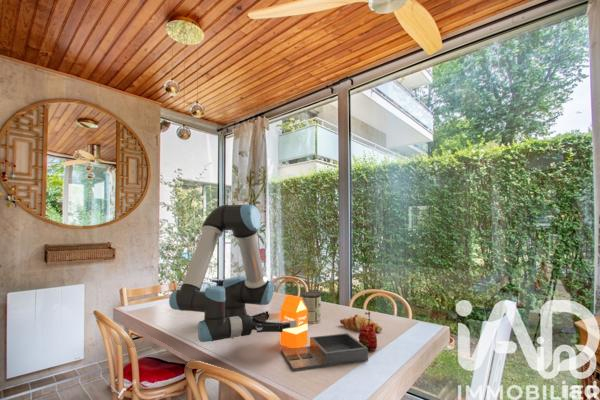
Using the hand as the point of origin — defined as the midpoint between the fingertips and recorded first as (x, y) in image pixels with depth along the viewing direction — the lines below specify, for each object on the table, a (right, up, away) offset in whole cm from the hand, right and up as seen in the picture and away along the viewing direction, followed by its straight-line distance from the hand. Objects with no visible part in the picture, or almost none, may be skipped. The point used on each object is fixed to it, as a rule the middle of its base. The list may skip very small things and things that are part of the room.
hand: (289, 318), depth 129 cm
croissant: (+34, -13, +20) cm, 42 cm away
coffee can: (+11, -14, +34) cm, 38 cm away
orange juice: (+2, -11, +1) cm, 11 cm away
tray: (+13, -10, -11) cm, 20 cm away
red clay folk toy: (+32, -11, -3) cm, 34 cm away
